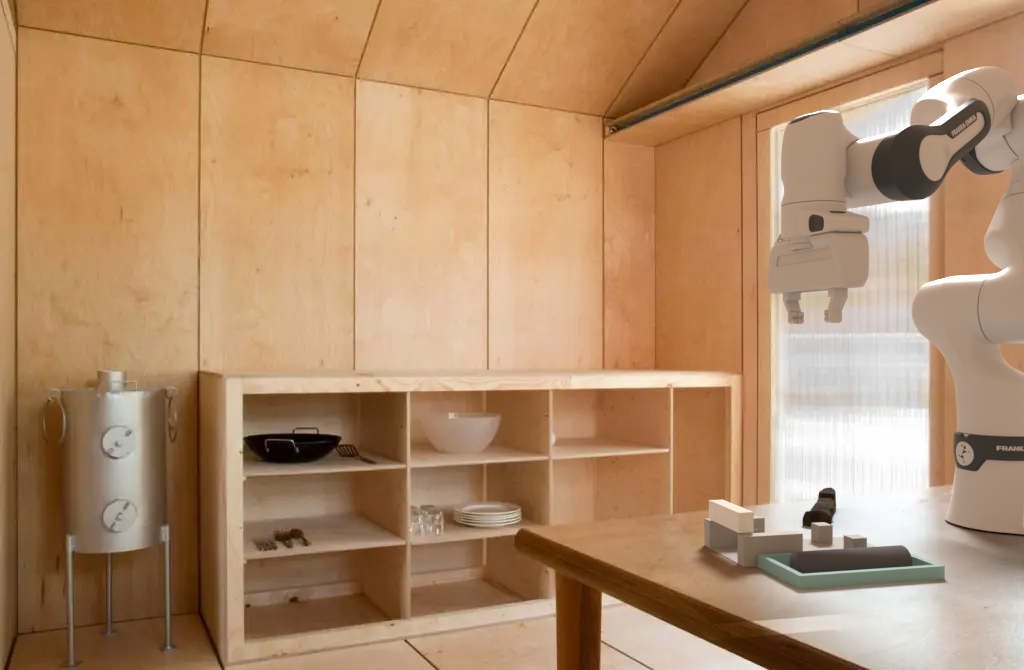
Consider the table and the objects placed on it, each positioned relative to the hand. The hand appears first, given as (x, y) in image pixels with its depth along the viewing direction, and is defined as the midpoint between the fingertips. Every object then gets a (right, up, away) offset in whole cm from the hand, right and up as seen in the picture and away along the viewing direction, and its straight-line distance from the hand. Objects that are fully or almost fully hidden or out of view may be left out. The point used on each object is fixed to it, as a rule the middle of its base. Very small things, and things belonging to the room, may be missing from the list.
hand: (813, 323), depth 122 cm
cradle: (-5, -31, -9) cm, 33 cm away
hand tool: (+6, -32, +13) cm, 35 cm away
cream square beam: (-15, -26, -11) cm, 32 cm away
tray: (-3, -31, -20) cm, 37 cm away
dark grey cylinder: (-3, -30, -19) cm, 36 cm away
